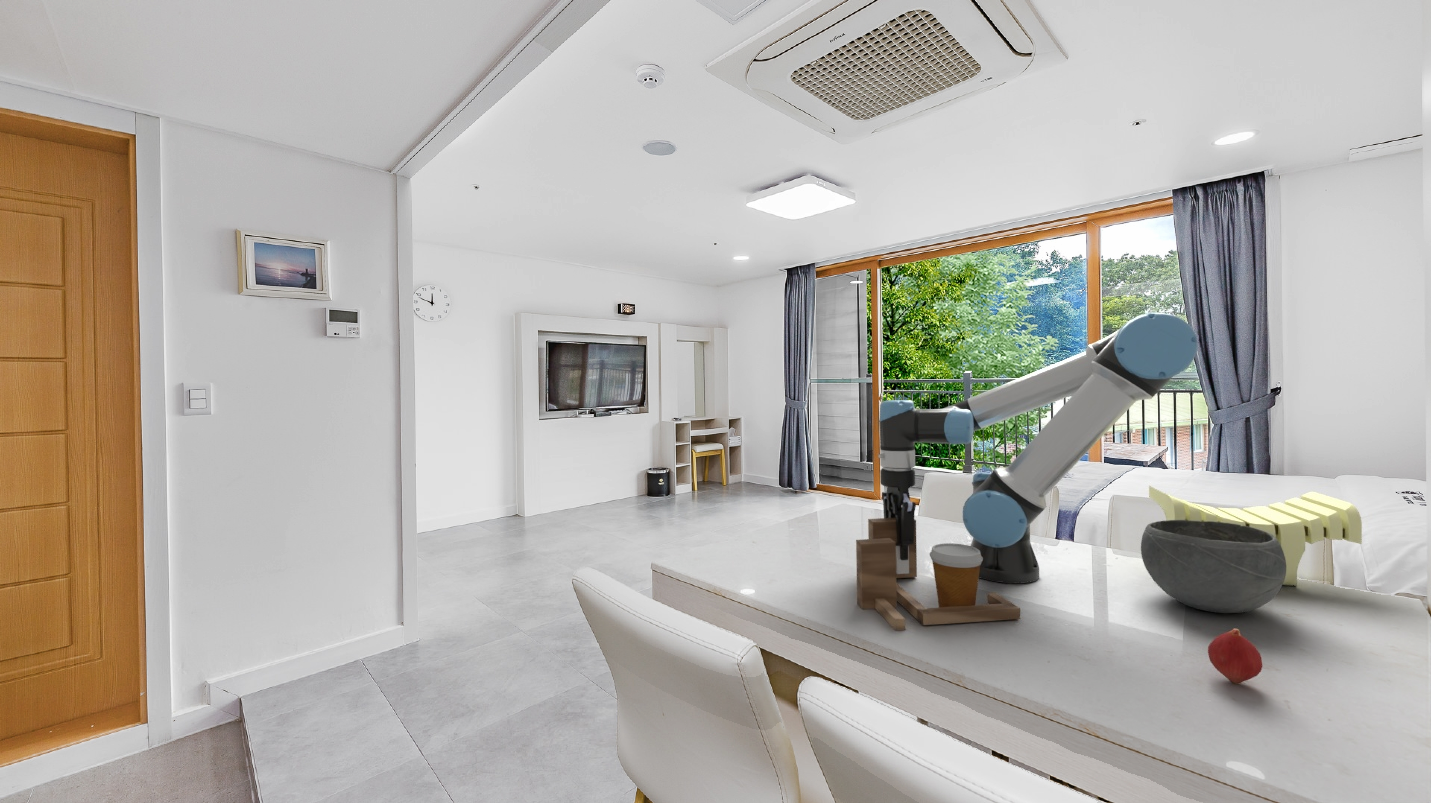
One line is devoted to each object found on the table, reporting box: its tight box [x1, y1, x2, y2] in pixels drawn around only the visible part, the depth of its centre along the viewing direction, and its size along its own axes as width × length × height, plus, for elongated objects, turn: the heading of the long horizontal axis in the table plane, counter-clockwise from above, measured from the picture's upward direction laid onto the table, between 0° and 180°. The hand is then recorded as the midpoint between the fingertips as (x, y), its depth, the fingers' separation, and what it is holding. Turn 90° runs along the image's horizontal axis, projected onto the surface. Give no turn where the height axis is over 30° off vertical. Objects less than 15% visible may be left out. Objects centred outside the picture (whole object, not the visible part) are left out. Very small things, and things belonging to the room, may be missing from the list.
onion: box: [1207, 628, 1263, 685], centre depth 82 cm, size 6×6×8 cm
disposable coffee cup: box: [929, 542, 983, 608], centre depth 110 cm, size 10×10×12 cm
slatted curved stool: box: [1148, 485, 1363, 587], centre depth 125 cm, size 30×16×18 cm, turn 69°
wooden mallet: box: [855, 538, 906, 631], centre depth 108 cm, size 13×7×13 cm, turn 5°
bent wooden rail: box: [867, 517, 1021, 626], centre depth 117 cm, size 27×19×13 cm
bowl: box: [1140, 519, 1286, 614], centre depth 109 cm, size 21×21×15 cm
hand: (899, 570), depth 129 cm, fingers closed on bent wooden rail, 3 cm apart
